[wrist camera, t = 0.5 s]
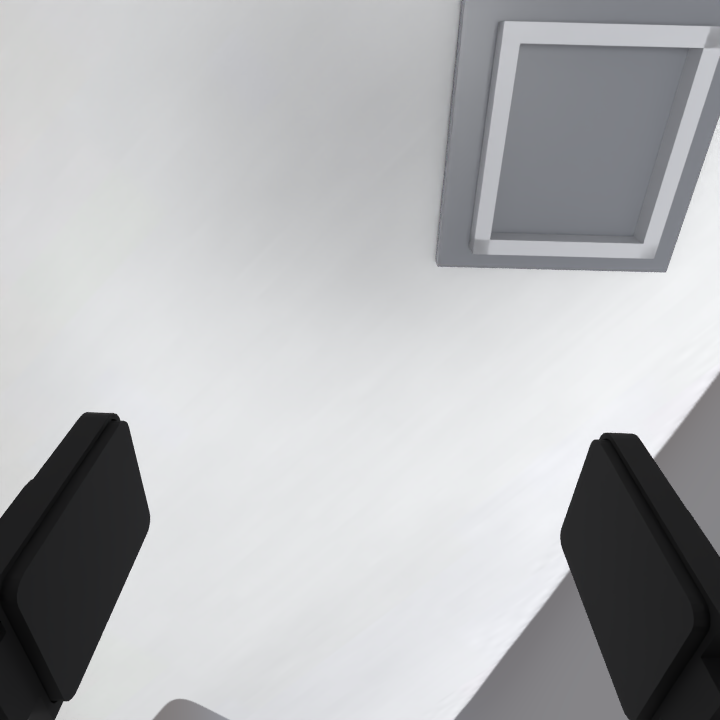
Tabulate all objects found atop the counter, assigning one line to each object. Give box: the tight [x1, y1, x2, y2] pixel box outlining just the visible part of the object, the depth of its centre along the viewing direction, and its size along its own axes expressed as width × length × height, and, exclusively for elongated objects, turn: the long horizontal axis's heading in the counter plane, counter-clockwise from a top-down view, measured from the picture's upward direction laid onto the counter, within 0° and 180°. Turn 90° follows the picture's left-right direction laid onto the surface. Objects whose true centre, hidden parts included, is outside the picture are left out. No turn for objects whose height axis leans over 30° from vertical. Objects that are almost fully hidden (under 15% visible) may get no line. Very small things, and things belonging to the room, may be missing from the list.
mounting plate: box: [436, 0, 720, 272], centre depth 33 cm, size 16×16×3 cm
